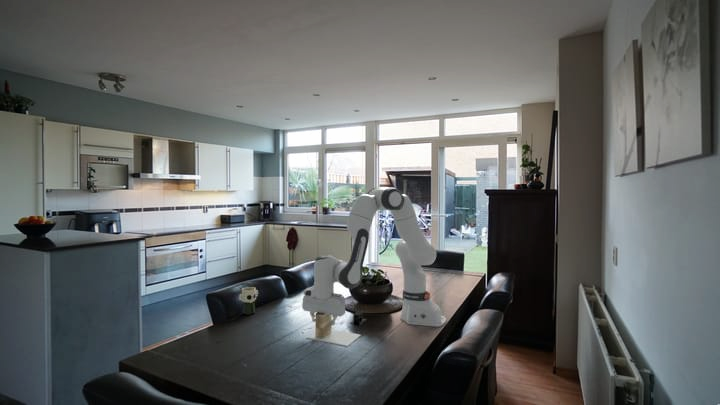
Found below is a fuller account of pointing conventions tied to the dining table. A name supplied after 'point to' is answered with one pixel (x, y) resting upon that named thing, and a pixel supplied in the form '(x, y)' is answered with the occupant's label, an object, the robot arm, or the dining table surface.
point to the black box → (358, 319)
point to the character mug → (248, 299)
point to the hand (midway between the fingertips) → (323, 323)
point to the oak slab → (323, 325)
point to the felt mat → (337, 338)
